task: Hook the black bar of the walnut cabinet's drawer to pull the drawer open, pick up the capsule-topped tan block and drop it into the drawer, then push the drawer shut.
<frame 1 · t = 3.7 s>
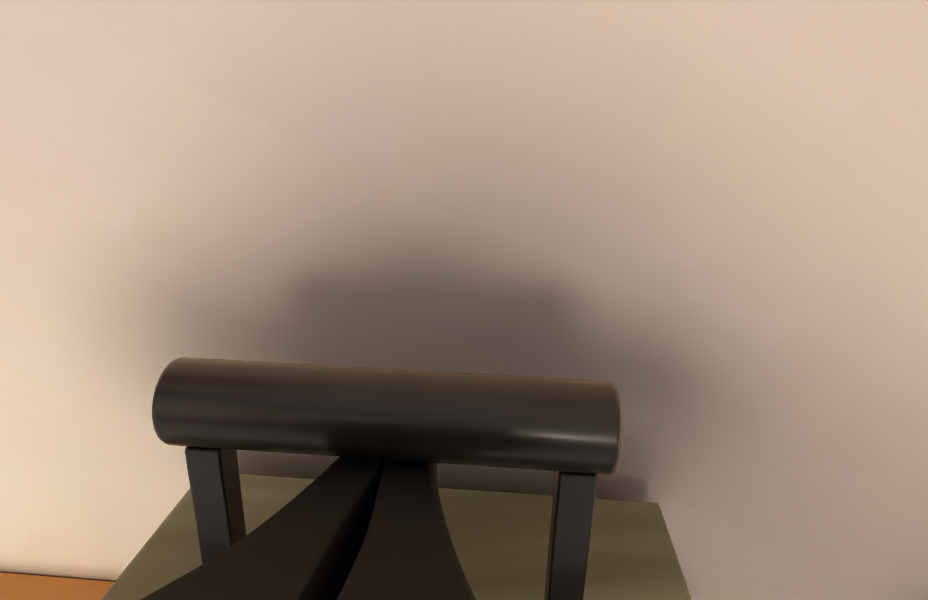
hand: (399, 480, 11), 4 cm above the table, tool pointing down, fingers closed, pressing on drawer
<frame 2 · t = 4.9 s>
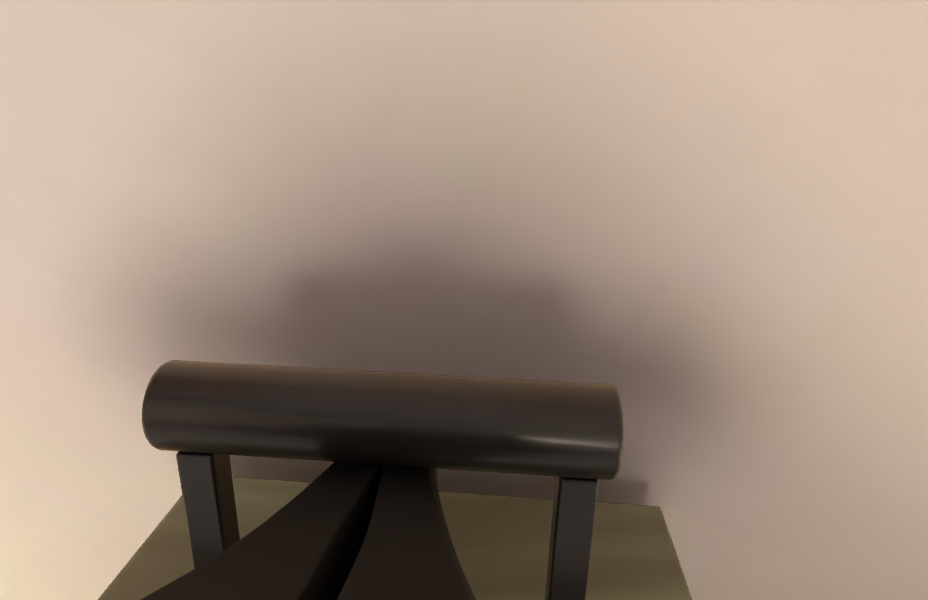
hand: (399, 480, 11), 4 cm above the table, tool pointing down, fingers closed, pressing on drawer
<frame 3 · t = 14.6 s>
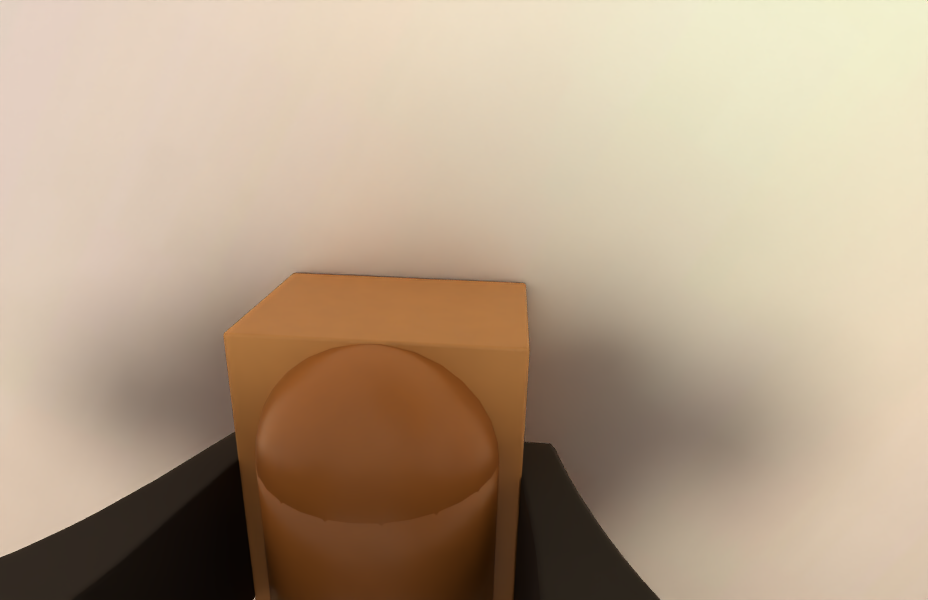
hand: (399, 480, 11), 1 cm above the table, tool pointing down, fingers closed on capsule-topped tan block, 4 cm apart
capsule-topped tan block: (409, 438, 13), on the table, touching gripper
when the fingers open (6 cm above the table, at t = 20.2 s): capsule-topped tan block drops 2 cm, resting on drawer.
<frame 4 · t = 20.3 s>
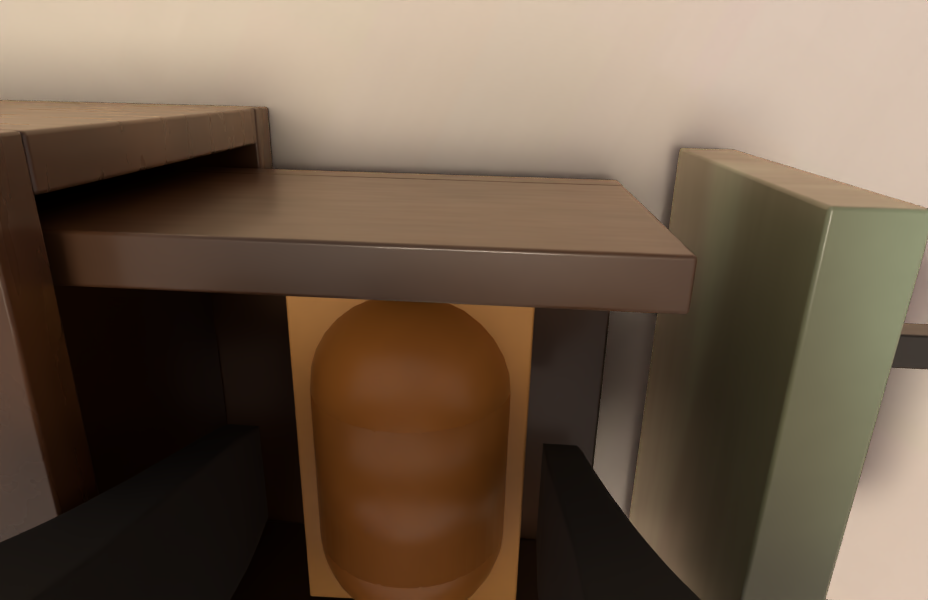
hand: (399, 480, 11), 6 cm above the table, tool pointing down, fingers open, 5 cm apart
cabinet: (53, 334, 17), on the table
capsule-topped tan block: (427, 389, 15), point 2 cm above the table, touching drawer
drawer: (558, 450, 12), point 4 cm above the table, slide at 9.6 cm, touching capsule-topped tan block
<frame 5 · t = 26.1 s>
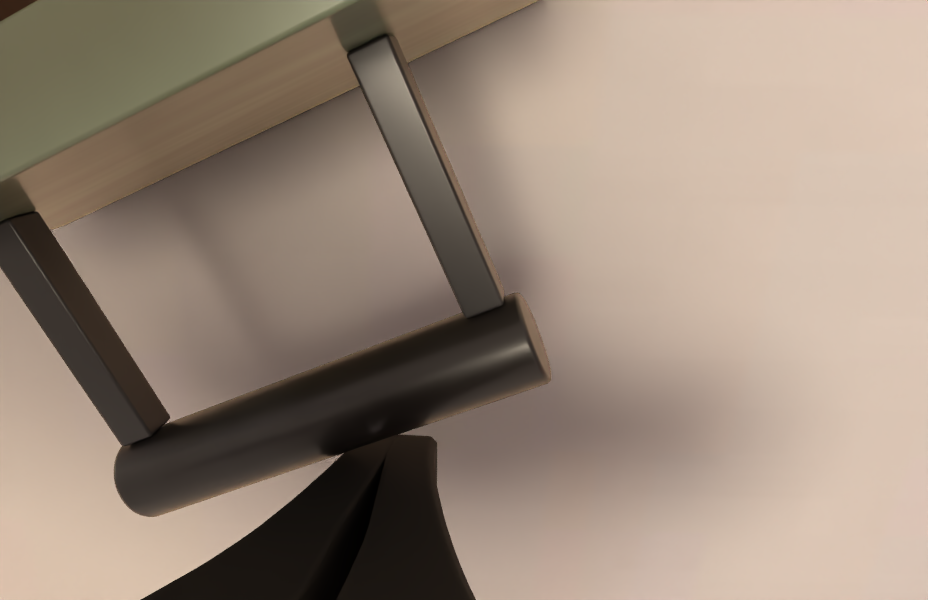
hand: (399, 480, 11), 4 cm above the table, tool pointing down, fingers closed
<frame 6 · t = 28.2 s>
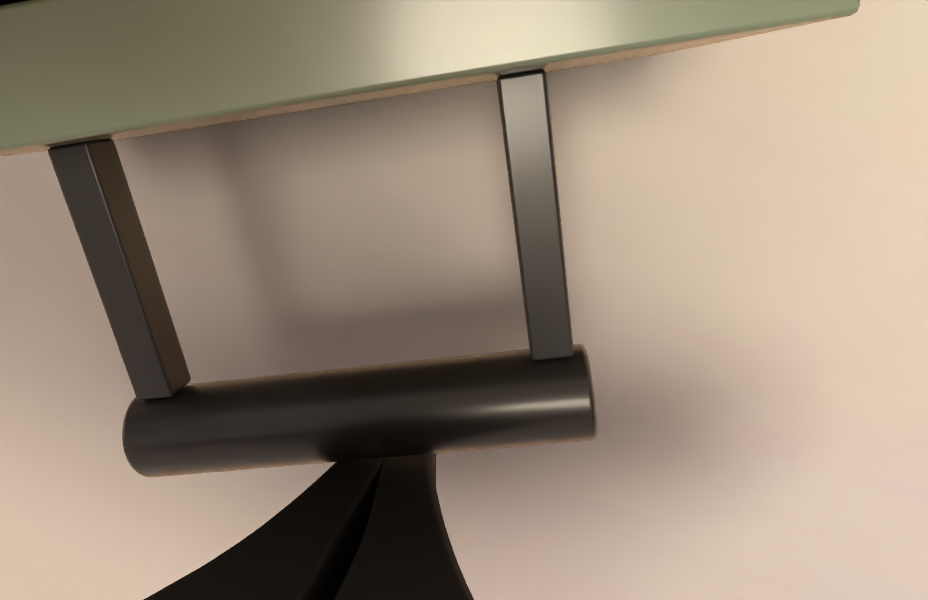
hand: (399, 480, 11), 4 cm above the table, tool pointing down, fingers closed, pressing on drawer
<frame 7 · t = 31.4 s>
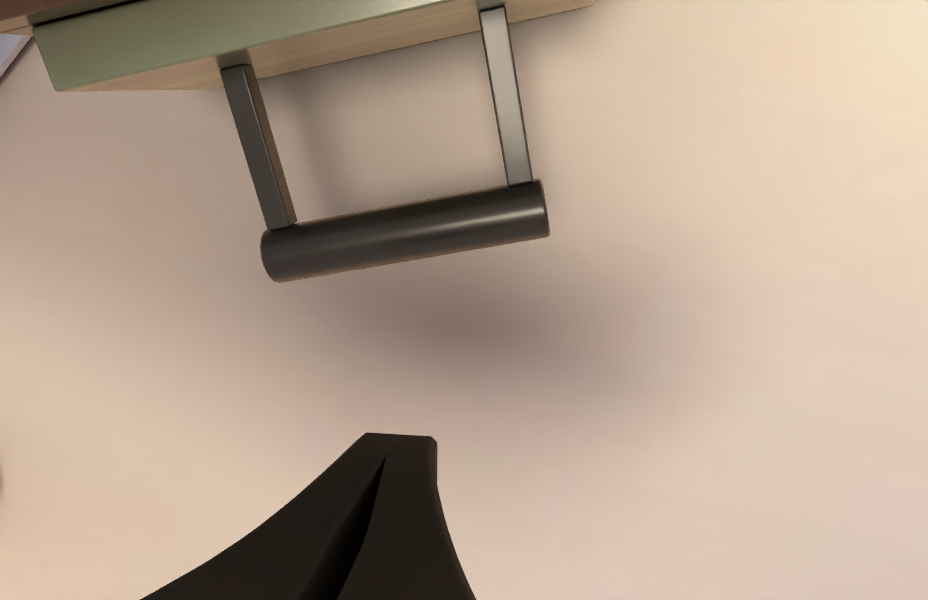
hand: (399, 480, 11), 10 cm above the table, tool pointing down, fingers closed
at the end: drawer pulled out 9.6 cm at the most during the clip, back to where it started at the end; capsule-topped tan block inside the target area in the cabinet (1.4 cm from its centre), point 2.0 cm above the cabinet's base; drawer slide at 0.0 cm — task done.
